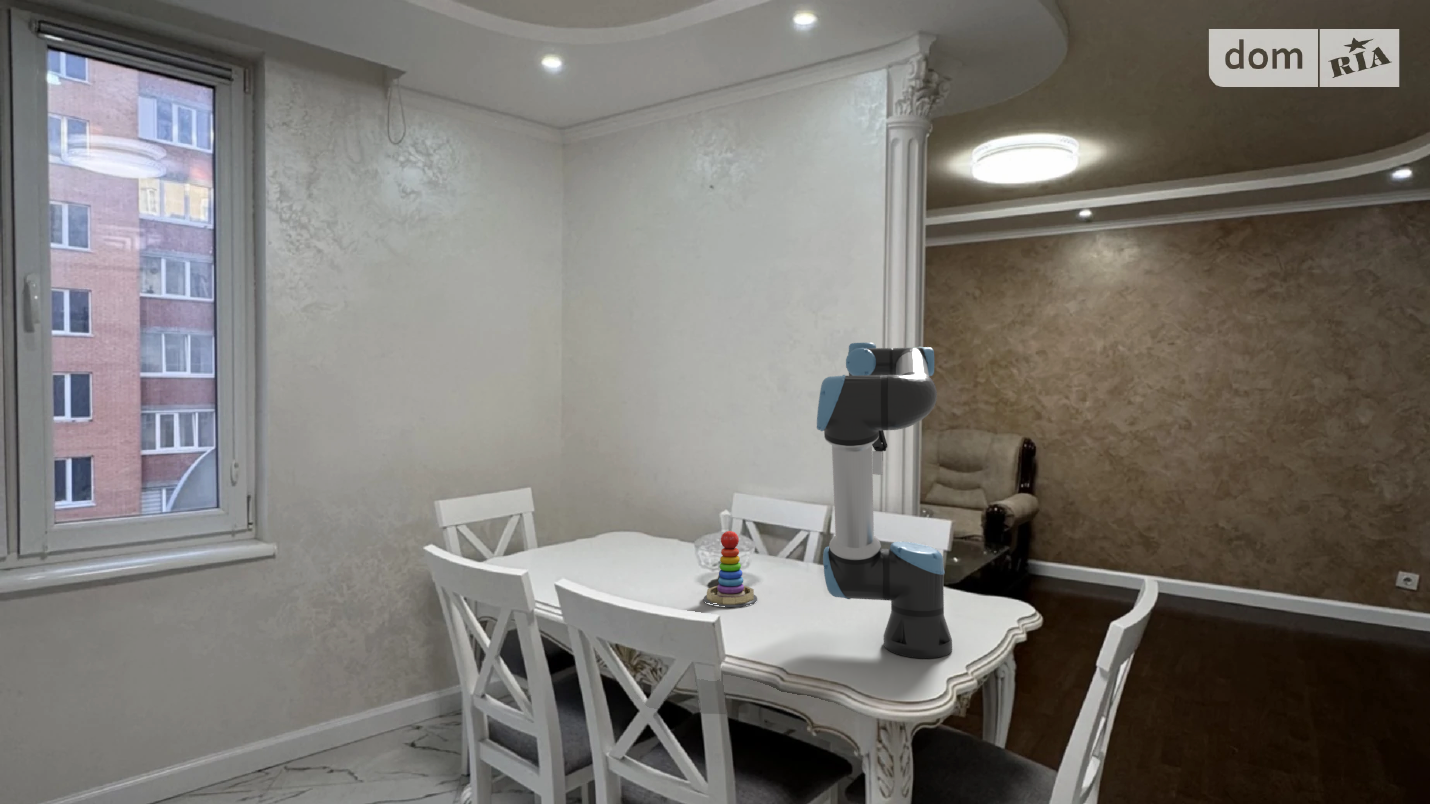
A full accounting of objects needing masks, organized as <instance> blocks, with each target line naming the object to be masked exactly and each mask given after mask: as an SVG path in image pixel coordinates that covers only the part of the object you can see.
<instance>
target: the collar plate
mask: <svg viewBox="0 0 1430 804" xmlns="http://www.w3.org/2000/svg"><path fill="white" fill-rule="evenodd" d="M717 587H718V585H715V586H712V587H709V588H707V591H706V595H704V597H703V602H704V601H705V602H706V603H710V604H713V603H717V604H713V605H719V606H725V607H740V608H744V607H743V606H746V605H750V604H753V603H755V602H756V601H757V602H758V596H757V595H755V592H754V591H755V589H753V588H751V587H750V586H747V585H744V590H743V591H744V592H745V595H741V596H719V595H717V592H718V589H717ZM705 602H704V603H705ZM757 602H756V603H757ZM706 603H705V604H706ZM756 603H755V604H756ZM753 605H754V604H753ZM750 606H751V605H750ZM746 607H747V606H746Z"/></svg>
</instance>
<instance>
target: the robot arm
mask: <svg viewBox="0 0 1430 804" xmlns="http://www.w3.org/2000/svg"><path fill="white" fill-rule="evenodd" d="M845 368H846V369H847V372H848V375H846V374H842V375H834V376H833V375H832V376H827V377H825V378H824V379H823V380H822V382H821V385H820V390H819V398H818V405H817V415H816V429H817V430H818V431H820V432H823V433H824V437H823V438H824V439H825V441H826V442H827V443H828V444H829V445H831V451H832V452H831V455H832V457H831V459H832V476H833V477H832V478H833V479H832V480H833V481H832V483H833V484H832V485H833V503H834V504H833V505H834V507H833V508H834V509H833V511H834V531H835V533H834V534H835V536H833V537H832V538H831V539H830V540H829V545H828V546H825V548H824V549H823V555H822V556H823V557H822V563H823V574H824V579H825V585H826V589H827V591H828V593H829V594H830V595H831V596H833V597H834V598H839V599H840V598H841V599H842V598H843V599H847V600H852V599H853V600H854V599H855V600H858V599H859V600H872V601H873V600H874V601H888V602H889V601H890V602H891V603H890V605H891V607H890V609H891V611H890V613H889V618H888V621H887V624H886V627H885V630H884V633H883V646H884V648H885V649H886V650H887V651H889V652H890V653H893V654H896V655H897V656H898V655H900V656H902V657H908V658H915V659H917V658H918V659H937V658H941V657H945V656H948V655H949V654H951V653H952V651H953V639H952V635H951V633H950V630H949V627H948V624H947V620H946V618H945V607H944V605H945V602H944V601H945V599H944V595H945V594H944V591H945V590H944V575H945V569H944V557H943V555H942V553H941V552H940V551H939V550H938V549H936V548H934V547H931V546H929V545H926V544H923V543H917V542H913V541H910V542H909V541H894V542H891V544H890V546H889V548H882V545H881V542H880V540H879V538H878V537H876V536H875V532H874V531H875V529H874V525H875V524H874V483H873V482H874V480H873V479H874V478H873V477H874V475H876V476H877V475H878V476H881V475H883V452H886V451H887V448H888V443H887V440H886V436H885V432H884V431H896V430H904V429H906V428H909V427H912V426H914V425H915V424H917V423H919V422H921V421H922V420H924V418H926V417H927V416H928V415H929V414H931V412H932V410H934V407H935V406H936V403H937V399H938V392H937V387H936V383H935V382H934V381H933V380H932V378H931V376H933V375H934V374H935V351H934V349H933V347H929V346H927V347H926V346H925V347H923V346H917V347H914V346H913V347H887V348H886V347H878V348H877V345H876V344H875V342H853V343H850V344H849V345H848V352H847V356H846V358H845Z"/></svg>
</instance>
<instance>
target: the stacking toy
mask: <svg viewBox="0 0 1430 804" xmlns="http://www.w3.org/2000/svg"><path fill="white" fill-rule="evenodd" d="M739 541H740V539H739V535H738V534H737V533H736V532H735V531H732V530H728V531H725V532H723V533H722V534H721V536H720V543H721V546H722V547H723V548H722V549H721V551H720V553H721V556H720V558H719V562H720V564H719V569H720V570H719V572H718V573H719V574H718V576H719V578H718V579H717V580H718V585H717V586H718V587H717V589H718V592H717V595H719V596H741V595H745V592H744V591H743V590H744V586H745V585H744V584H743V583H744V578H743V577H742V576H743V571H742V570H741V567H742V565H741V563H740V556H739V554H740V551H739V548H737V546H738V544H739Z"/></svg>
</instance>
